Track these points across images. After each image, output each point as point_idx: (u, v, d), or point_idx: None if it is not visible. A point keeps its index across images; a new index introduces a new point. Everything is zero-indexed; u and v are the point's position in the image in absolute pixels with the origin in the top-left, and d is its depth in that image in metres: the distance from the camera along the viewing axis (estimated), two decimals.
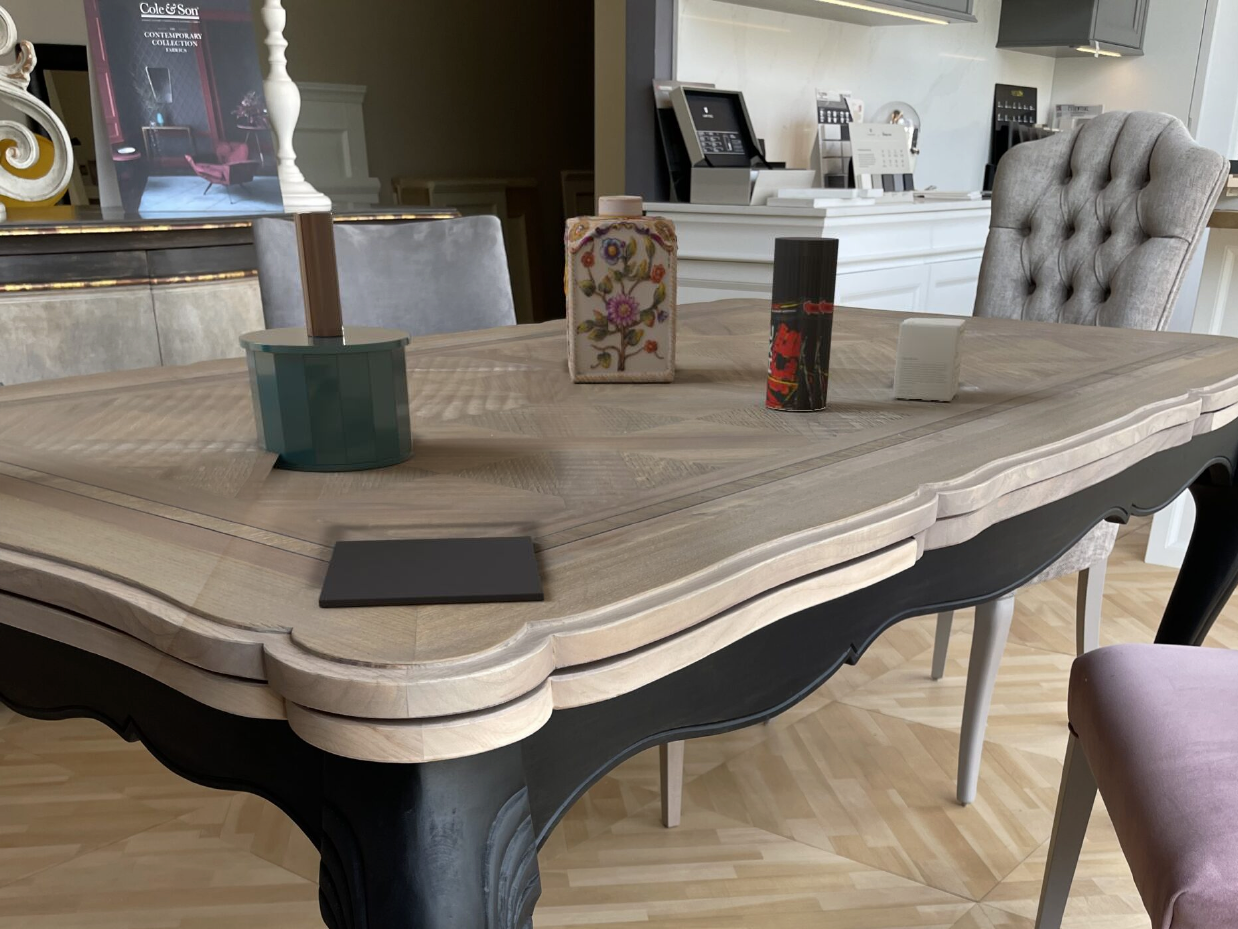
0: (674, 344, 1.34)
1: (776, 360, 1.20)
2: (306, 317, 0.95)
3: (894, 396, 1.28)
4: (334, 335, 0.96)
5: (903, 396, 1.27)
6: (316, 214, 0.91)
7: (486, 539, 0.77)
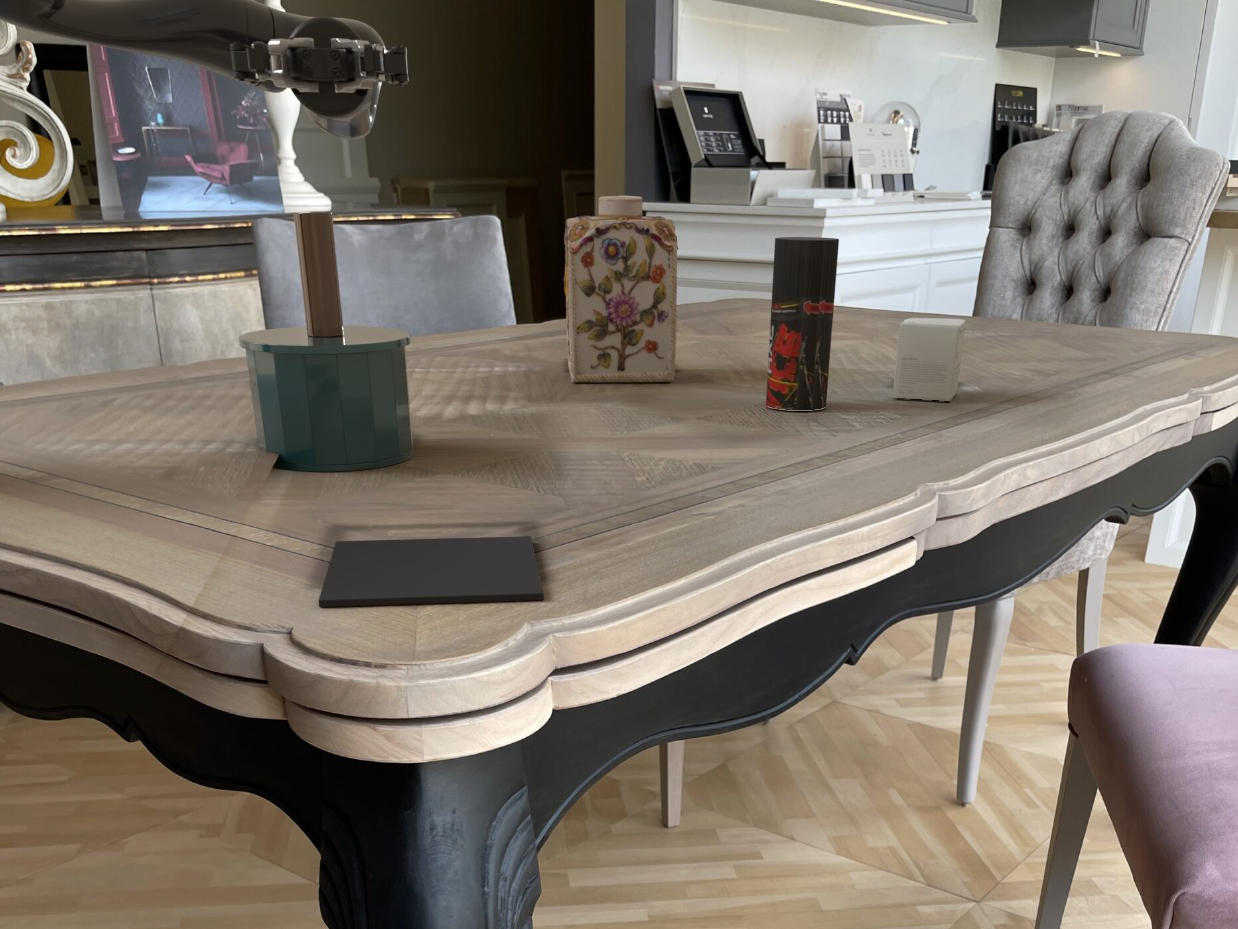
0: (674, 344, 1.34)
1: (776, 360, 1.20)
2: (306, 317, 0.95)
3: (894, 396, 1.28)
4: (334, 335, 0.96)
5: (903, 396, 1.27)
6: (316, 214, 0.91)
7: (486, 539, 0.77)
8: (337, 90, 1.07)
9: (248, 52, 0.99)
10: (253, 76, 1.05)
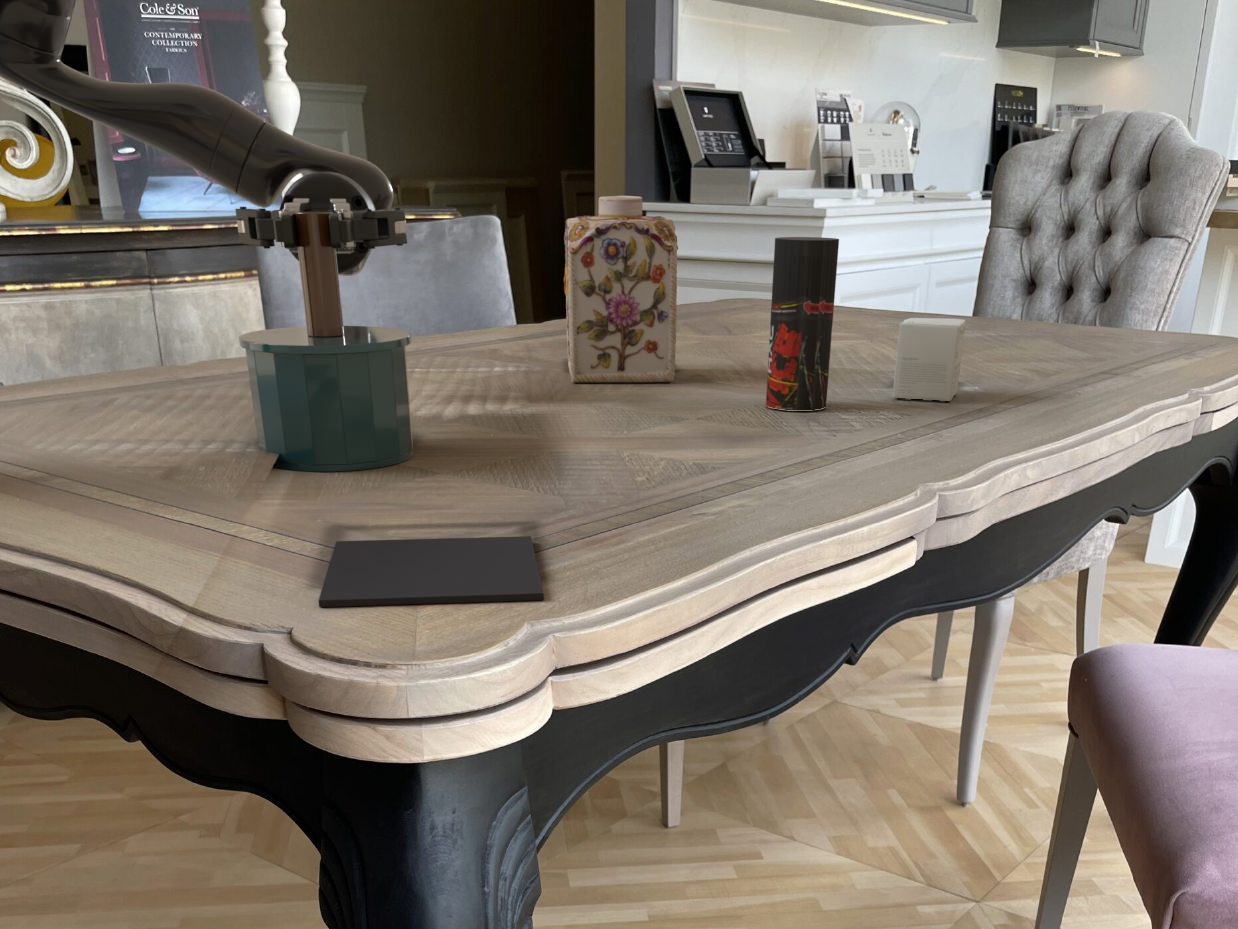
0: (674, 344, 1.34)
1: (776, 360, 1.20)
2: (306, 317, 0.95)
3: (894, 396, 1.28)
4: (334, 335, 0.96)
5: (903, 396, 1.27)
6: (316, 214, 0.91)
7: (486, 539, 0.77)
8: None
9: (275, 225, 0.91)
10: None
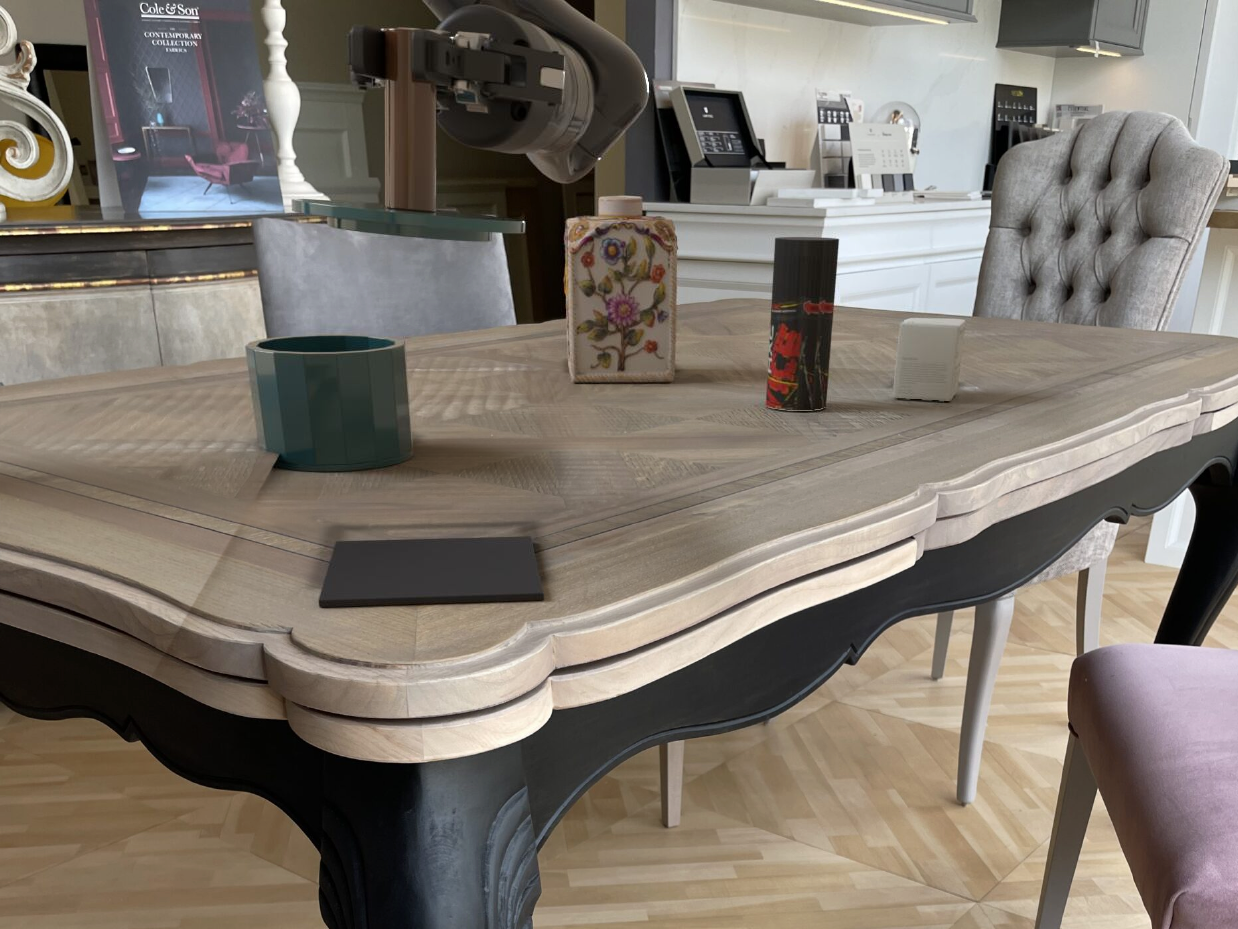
0: (674, 344, 1.34)
1: (776, 360, 1.20)
2: (385, 180, 0.69)
3: (894, 396, 1.28)
4: (415, 209, 0.69)
5: (903, 396, 1.27)
6: (407, 31, 0.65)
7: (486, 539, 0.77)
8: None
9: (348, 39, 0.65)
10: None
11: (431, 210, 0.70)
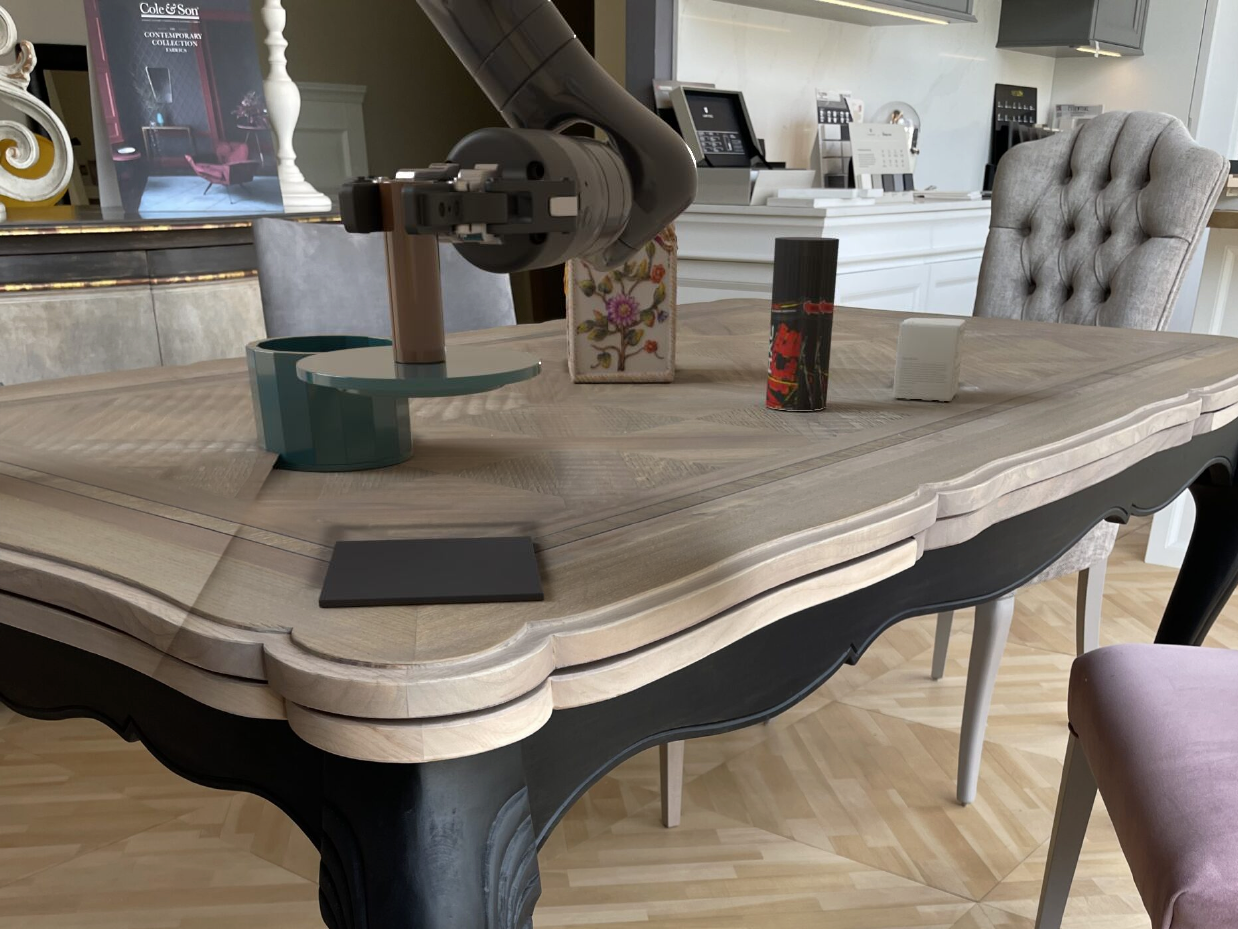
0: (674, 344, 1.34)
1: (776, 360, 1.20)
2: (391, 334, 0.66)
3: (894, 396, 1.28)
4: (422, 361, 0.66)
5: (903, 396, 1.27)
6: (399, 183, 0.62)
7: (486, 539, 0.77)
8: None
9: (339, 198, 0.62)
10: None
11: (440, 360, 0.66)
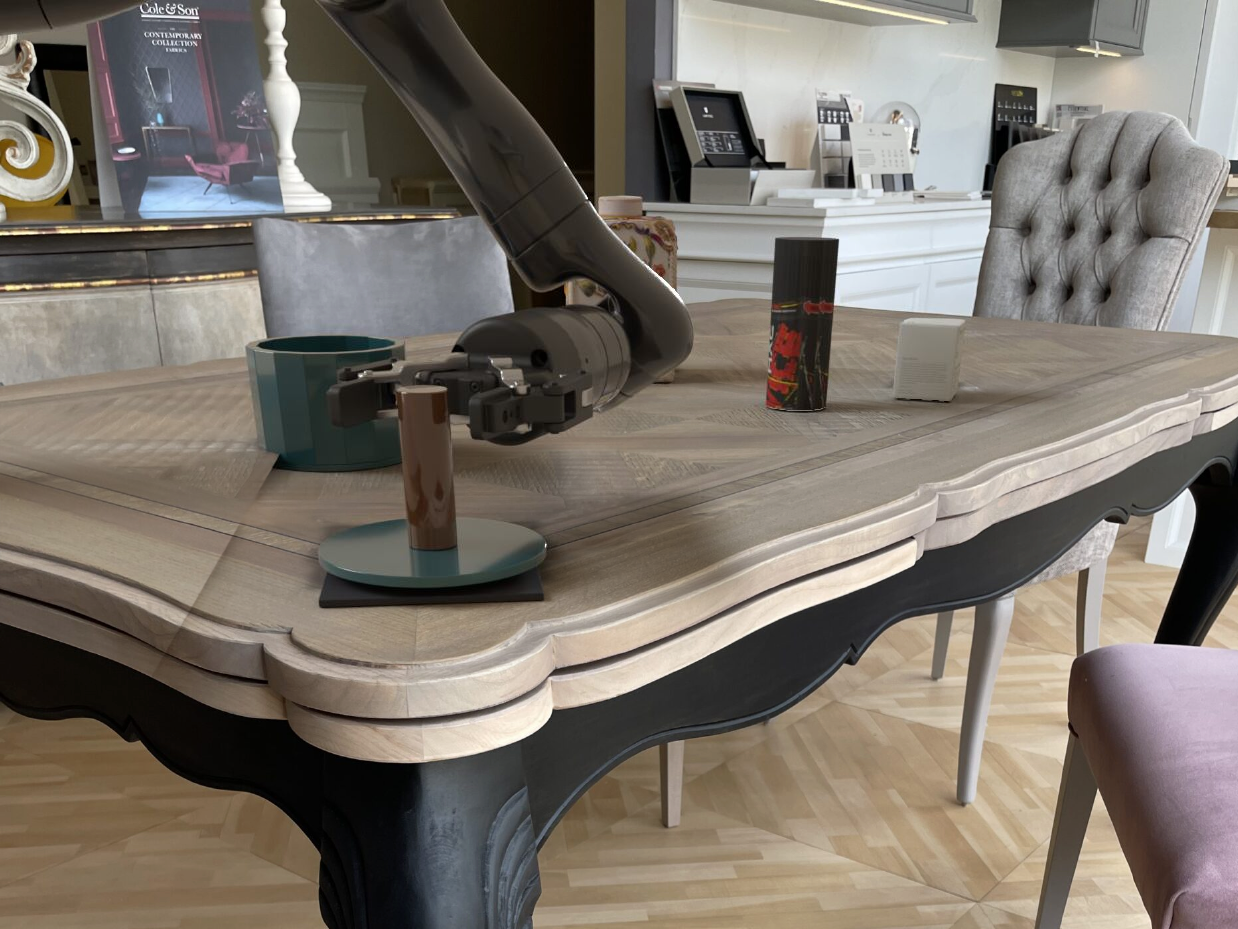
0: None
1: (776, 360, 1.20)
2: (406, 521, 0.71)
3: (894, 396, 1.28)
4: (435, 548, 0.71)
5: (903, 396, 1.27)
6: (416, 394, 0.66)
7: None
8: None
9: (327, 397, 0.68)
10: None
11: (452, 546, 0.71)
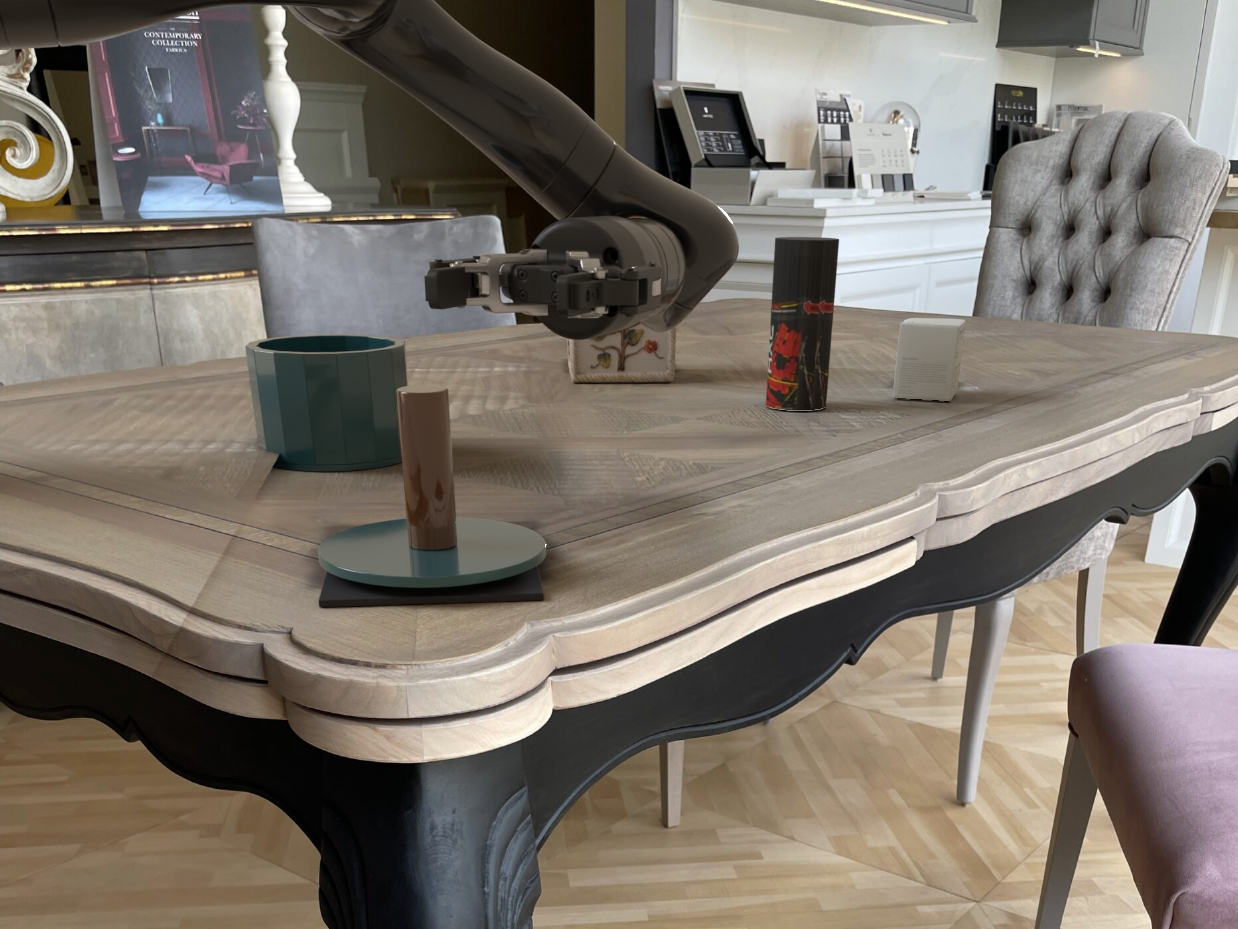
0: (674, 344, 1.34)
1: (776, 360, 1.20)
2: (406, 521, 0.71)
3: (894, 396, 1.28)
4: (435, 548, 0.71)
5: (903, 396, 1.27)
6: (416, 394, 0.66)
7: None
8: None
9: (425, 281, 0.76)
10: None
11: (452, 546, 0.71)
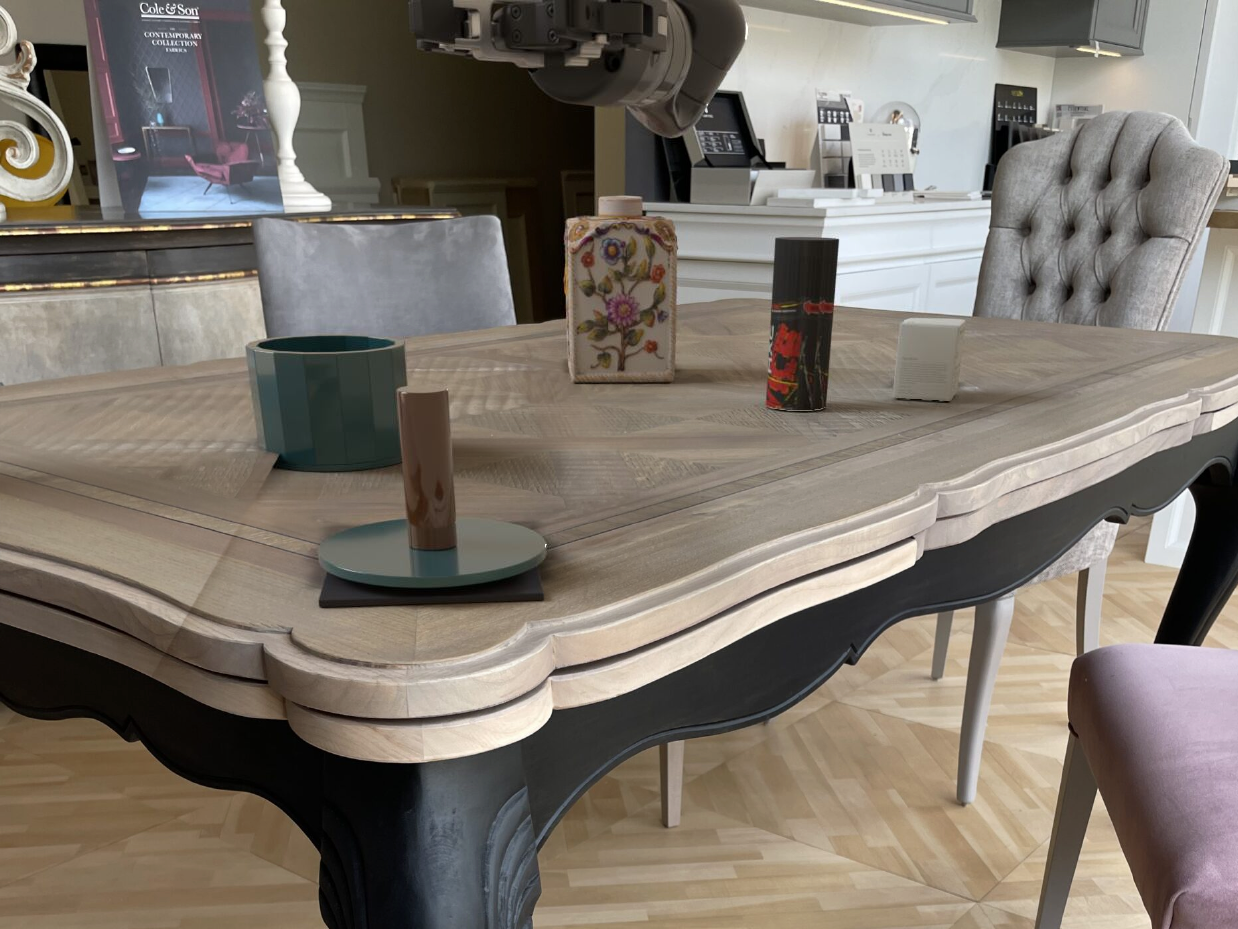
0: (674, 344, 1.34)
1: (776, 360, 1.20)
2: (406, 521, 0.71)
3: (894, 396, 1.28)
4: (435, 548, 0.71)
5: (903, 396, 1.27)
6: (416, 394, 0.66)
7: None
8: (565, 62, 0.75)
9: (409, 7, 0.69)
10: None
11: (452, 546, 0.71)
